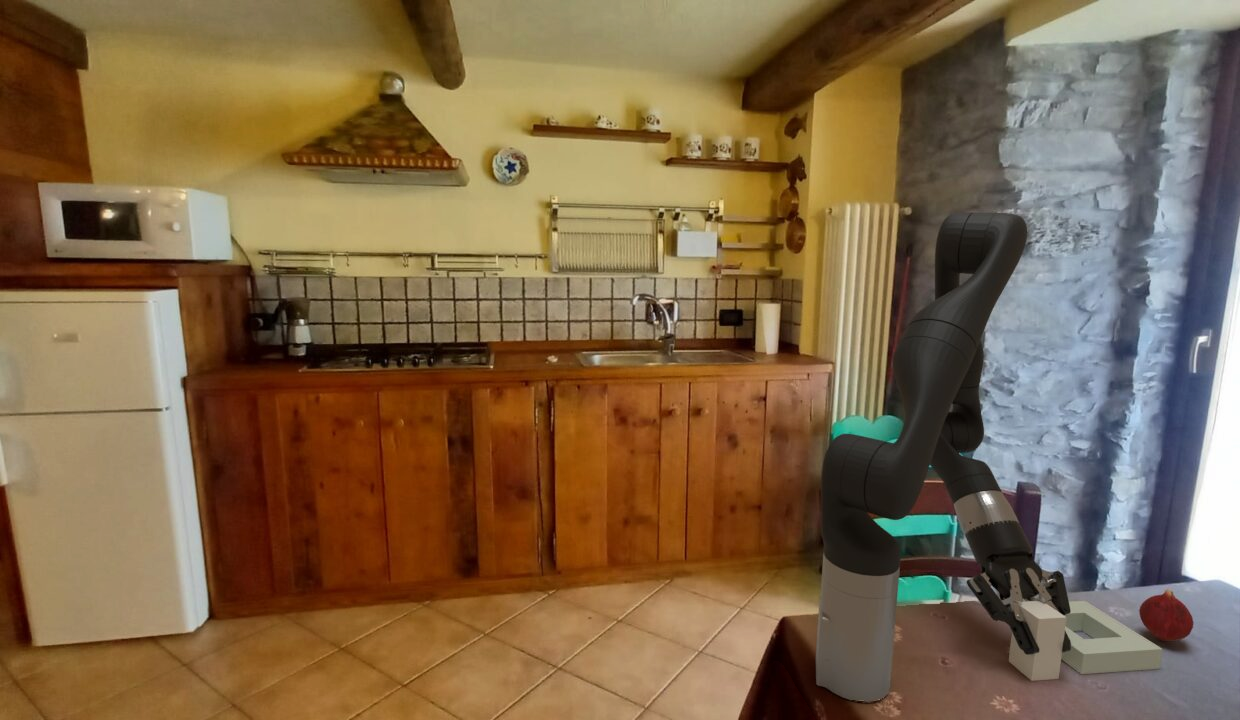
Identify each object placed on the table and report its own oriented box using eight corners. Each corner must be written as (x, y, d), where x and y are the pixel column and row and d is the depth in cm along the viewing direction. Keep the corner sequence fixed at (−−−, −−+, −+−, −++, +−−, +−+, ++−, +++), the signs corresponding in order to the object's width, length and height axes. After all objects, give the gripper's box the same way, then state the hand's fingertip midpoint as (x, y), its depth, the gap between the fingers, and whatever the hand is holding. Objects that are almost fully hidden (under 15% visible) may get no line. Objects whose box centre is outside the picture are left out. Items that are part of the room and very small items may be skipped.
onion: (1200, 655, 83) (1208, 604, 82) (1153, 650, 84) (1161, 599, 83) (1170, 631, 89) (1178, 583, 87) (1127, 626, 90) (1134, 578, 89)
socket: (1081, 674, 79) (1083, 654, 78) (1013, 622, 91) (1014, 604, 90) (1159, 668, 80) (1162, 648, 80) (1082, 618, 92) (1084, 600, 91)
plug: (1031, 680, 77) (1038, 619, 76) (1008, 661, 81) (1015, 602, 80) (1058, 678, 78) (1066, 617, 77) (1034, 659, 82) (1041, 600, 80)
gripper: (960, 520, 83) (1017, 650, 73) (1050, 516, 85) (1118, 643, 75) (934, 538, 89) (983, 661, 79) (1018, 534, 91) (1077, 654, 81)
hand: (1048, 651), depth 77 cm, fingers closed on plug, 4 cm apart
